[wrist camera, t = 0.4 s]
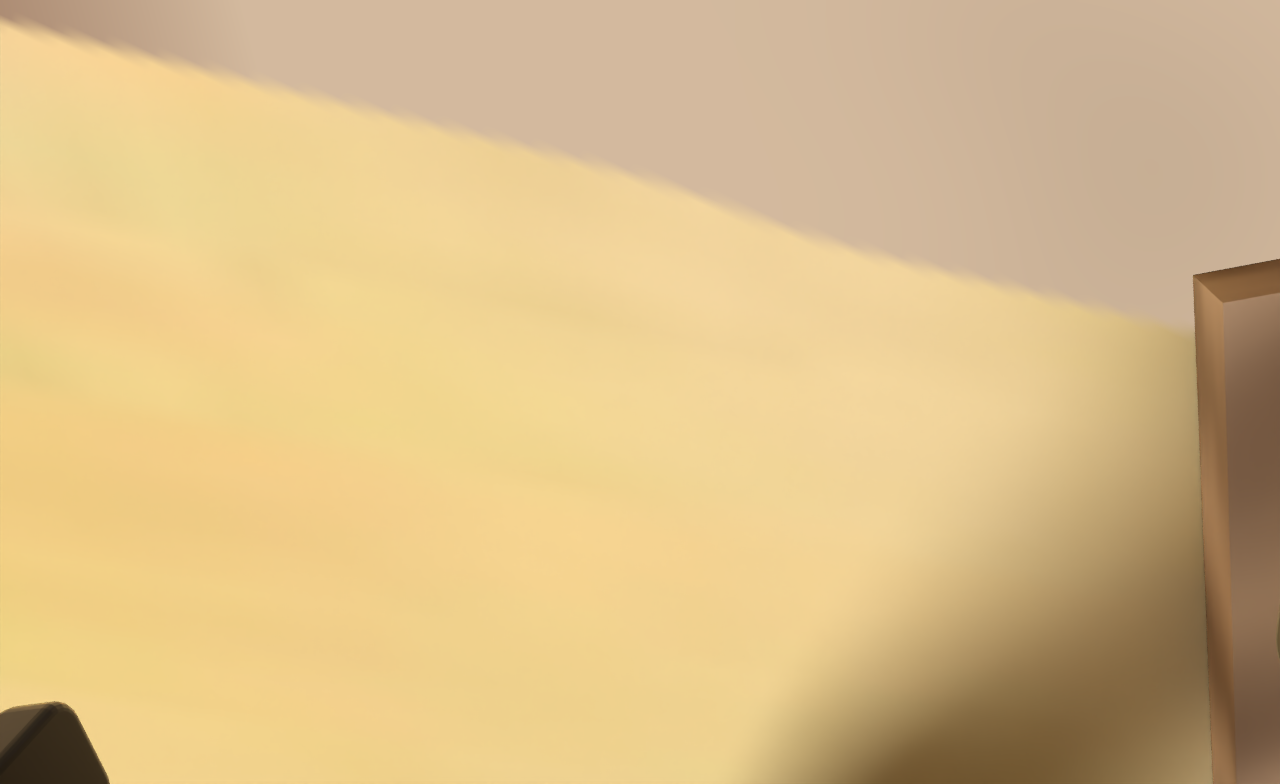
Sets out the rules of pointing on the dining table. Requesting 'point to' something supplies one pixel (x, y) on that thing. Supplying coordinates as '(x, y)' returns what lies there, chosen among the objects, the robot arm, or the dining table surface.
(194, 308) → the dining table surface
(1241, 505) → the shelf board
